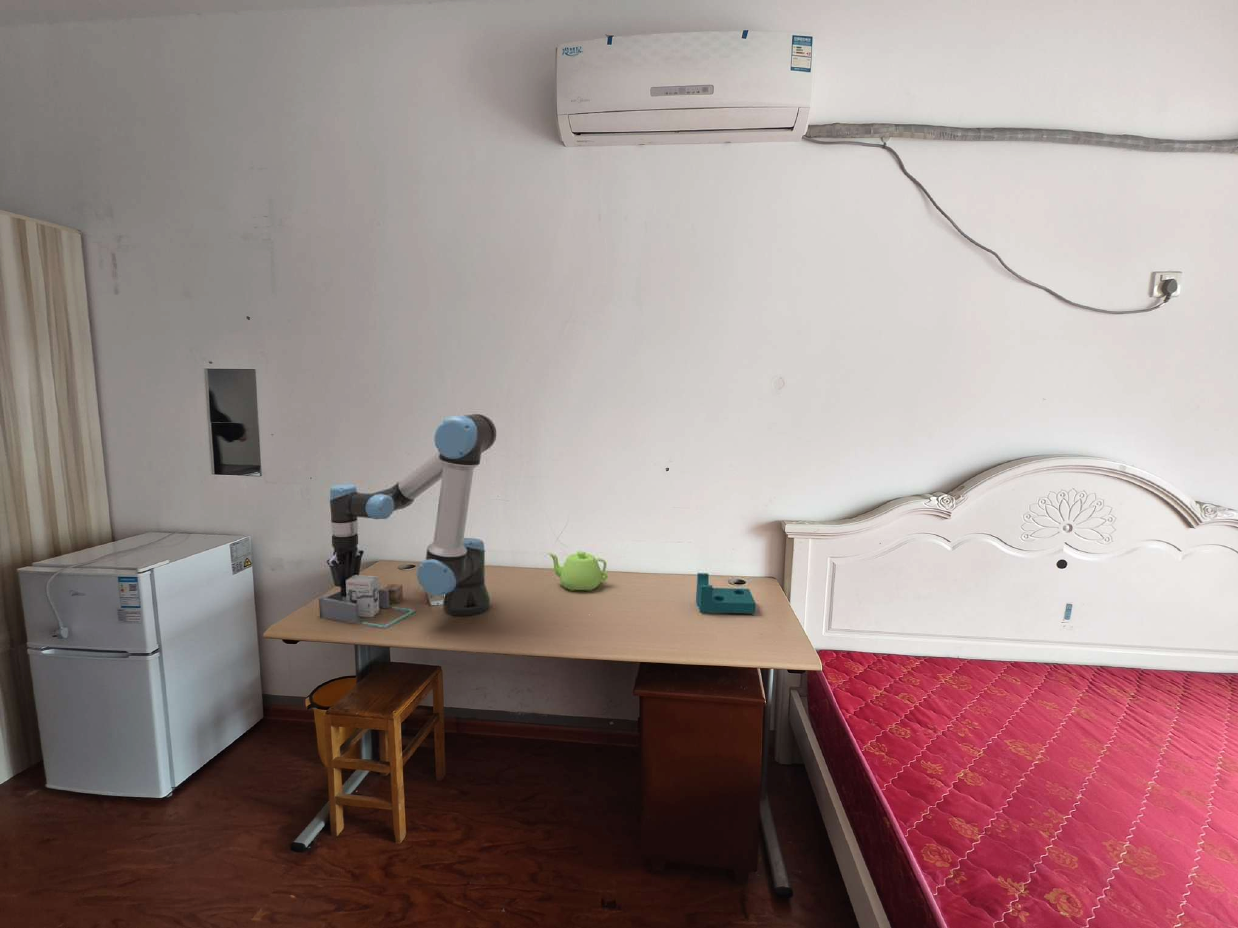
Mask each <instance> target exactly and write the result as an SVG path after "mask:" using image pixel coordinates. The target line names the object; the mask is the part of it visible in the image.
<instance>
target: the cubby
mask: <svg viewBox="0 0 1238 928" xmlns="http://www.w3.org/2000/svg"><path fill="white" fill-rule="evenodd" d="M382 588H383V587H382ZM382 588H380V587H379V608H383V609H389V608H390V604H389V590H388V589H382ZM318 606H319V607H318V608H319V618H323V619H328V620H333V621H337V622H343V623H347V624H353V625H358V624H359V623H360V618H359V617H360V616H359V612H358V604H355V603H350V602H344V601H342V596H341V589H338V590H336V591H334V592H332V593H329V594H327V595H324V596H321V597H320V598H318Z"/></svg>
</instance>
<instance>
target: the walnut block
mask: <svg viewBox="0 0 1238 928" xmlns="http://www.w3.org/2000/svg"><path fill="white" fill-rule="evenodd" d="M382 589H388V590H389V605H390V604H391V605H398V603H399V602H401V601H402V600H403V599H404V594H403V584H396V583H395V584H394V583H388V584H386V585H385V586H383V587H382Z"/></svg>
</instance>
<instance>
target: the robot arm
mask: <svg viewBox="0 0 1238 928" xmlns="http://www.w3.org/2000/svg"><path fill="white" fill-rule="evenodd" d="M496 438H497V429H496V426H495V424H494V422H493V420H492V419H490V418H489V417H487V416H486V415H483V414H478V413H475V414H474V413H473V414H468V415H467V414H464V415H460V414H459V415H454V416H453V415H452V416H451V417H447V418H445V419H444V420H443V421H441V422H440V423H439V425H438V426H437V428H436V430H435V432H434V439H433V441H434V446H435V448H437V452H436V453H434V454H433V455H432V456H430V457H429V458H428V459H426V460H425V461H424V462H423V463H421V464H420V465H418V466H417V467H416V468H415V469H414V470H412V471H411V472H409V473H408V474H407V475H406V476H405V477H403V478H402V479H401V480H399V481H398V482H396V483H395V484H394V485H393V486H391V487H389V488H386V489H382V490H380V491H376V492H371V493H366V492H364V493H363V492H358V490H357V486H356V485H354V484H349V483H347V484H345V483H344V484H337V485H333V486H331V488H330V489H329V504H330V505H329V507H330V518H331V519H330V522H331V523H330V525H331V529H330V530H331V534H332V535H331V547H333V553H332V557H331V558H330V559H327V560H326V563H327V565H328V566H329V569H330V572H331V575H332V579H333V584H334V586H335V587H338V588H340V590H341V596H342V601H344V602H346V580H347V579H349V578H351V577H352V576H354V575H360V571H361V563H362V557H363V556H364V550H362V549H359V548H358V545H359V534H358V531H359V525H358V522H359V521H358V518H364V519H365V518H366V519H373V520H387V519H389V518H390V517H391V515H392V514H393V512H395V511H398V510H403V509H406V508H407V507H409V506H411V505H412V504H413V503H414V501H415V499H416V498H417V497H419V496H420V495H422V494H423V493H424V492H426V491H428V489H429V488H431V487H433V486H434V485H435V484H437V483H438V482H439V481H441V482H440V491H439V496H438V497H439V498H438V504H437V511H436V518H435V519H436V520H435V527H434V533H433V534H434V536H433V541H432V542H430V543H429V544H428V545H427V548H426V555H425V559H424V560H423V561H422V562H421V563H420V564H419V565H418V567H417V571H416V577H417V581H418V584H419V585H420V586H421V588H422V589H423V590H424V591H425V592H426V593H428V594H430V595H432V596H438V597H439V596H440V597H441V596H444V598H443V601H442V611H444V613H446V614H449V615H451V616H460V617H462V616H463V617H464V616H466V617H467V616H473V615H478V614H481V613H484V612H485V611H487V610H488V609H490V607H491V597H490V596H489V592H488V589H487V586H486V582H485V581H486V580H485V573H486V572H485V567H486V566H485V552H486V550H485V543H484V541H483V540H481V539H480V538H479V539H478V538H475V537H473V538H472V537H465V530H466V524H467V517H468V510H469V503H470V498H471V489H472V483H473V477H474V476H473V475H474V470H475V469H476V468H477V467H478V466H480V464H481V457H482V453H484V452H486V451H488V450H489V449H491V448H492V446H493V445H494V444H495V441H496V440H497V439H496Z"/></svg>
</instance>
